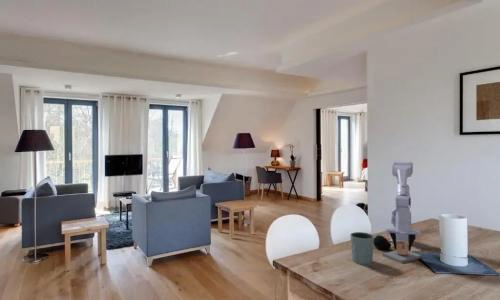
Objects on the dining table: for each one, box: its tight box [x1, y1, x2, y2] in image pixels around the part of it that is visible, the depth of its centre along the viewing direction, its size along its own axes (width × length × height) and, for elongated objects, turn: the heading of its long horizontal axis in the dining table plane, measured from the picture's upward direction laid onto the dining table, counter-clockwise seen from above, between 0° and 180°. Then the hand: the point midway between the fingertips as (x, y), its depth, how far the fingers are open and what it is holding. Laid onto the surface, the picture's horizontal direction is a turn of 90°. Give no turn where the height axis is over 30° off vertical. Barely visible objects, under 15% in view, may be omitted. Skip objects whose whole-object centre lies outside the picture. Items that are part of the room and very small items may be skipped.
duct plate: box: [382, 250, 422, 264], centre depth 150 cm, size 14×10×5 cm
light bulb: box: [373, 234, 395, 251], centre depth 160 cm, size 7×7×12 cm
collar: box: [395, 241, 409, 255], centre depth 150 cm, size 6×5×5 cm
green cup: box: [349, 231, 375, 266], centre depth 145 cm, size 10×10×12 cm
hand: (402, 249), depth 150 cm, fingers closed on collar, 5 cm apart
